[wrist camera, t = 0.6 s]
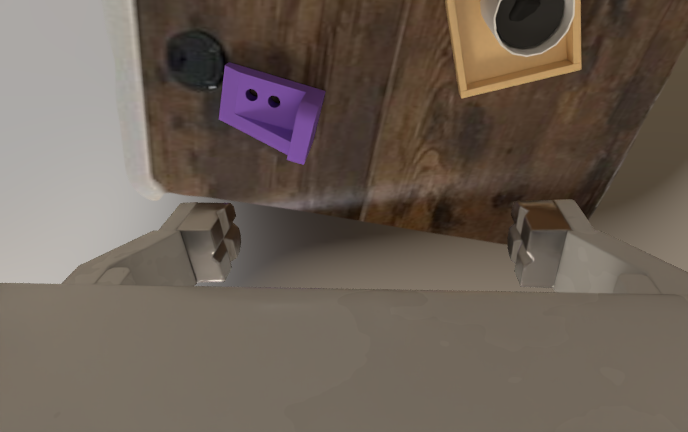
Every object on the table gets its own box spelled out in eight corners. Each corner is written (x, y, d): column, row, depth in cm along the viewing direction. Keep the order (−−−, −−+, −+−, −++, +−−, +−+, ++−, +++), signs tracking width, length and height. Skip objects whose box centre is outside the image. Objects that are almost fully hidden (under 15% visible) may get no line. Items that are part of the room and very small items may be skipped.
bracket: (325, 91, 53) (317, 110, 47) (313, 141, 57) (303, 164, 51) (229, 62, 52) (208, 78, 47) (222, 114, 56) (203, 135, 50)
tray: (433, -70, 43) (435, -70, 41) (570, -115, 40) (580, -118, 38) (458, 92, 52) (461, 98, 49) (573, 63, 49) (581, 69, 47)
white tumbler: (464, 21, 47) (478, 40, 39) (496, -47, 44) (521, -42, 35) (519, 45, 48) (545, 68, 39) (555, -20, 44) (593, -9, 36)
